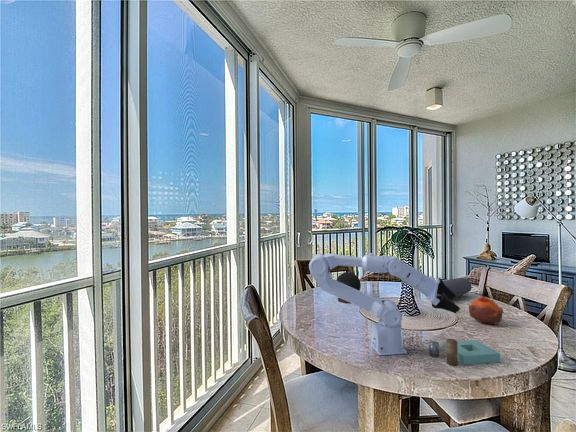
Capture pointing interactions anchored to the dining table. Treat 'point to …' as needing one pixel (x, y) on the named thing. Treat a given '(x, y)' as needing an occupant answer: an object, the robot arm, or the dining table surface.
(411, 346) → the dining table surface
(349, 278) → the snow globe
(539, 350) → the dining table surface
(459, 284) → the bluetooth speaker
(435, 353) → the metal stub
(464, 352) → the hole block
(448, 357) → the walnut dowel
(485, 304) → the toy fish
